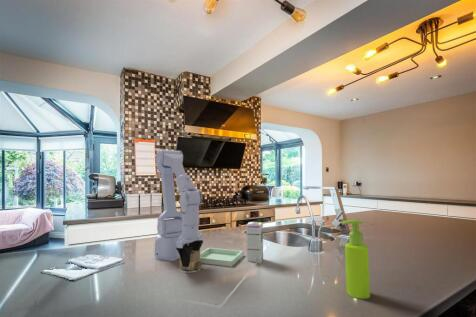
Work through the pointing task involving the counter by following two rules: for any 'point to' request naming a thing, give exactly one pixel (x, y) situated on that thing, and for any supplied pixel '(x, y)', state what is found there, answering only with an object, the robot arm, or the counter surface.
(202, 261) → the tray
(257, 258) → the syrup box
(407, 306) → the counter surface
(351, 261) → the soap dispenser
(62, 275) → the bicycle print towel
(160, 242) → the robot arm
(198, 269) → the silver knobbed lid
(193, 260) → the tan wooden hollow block
